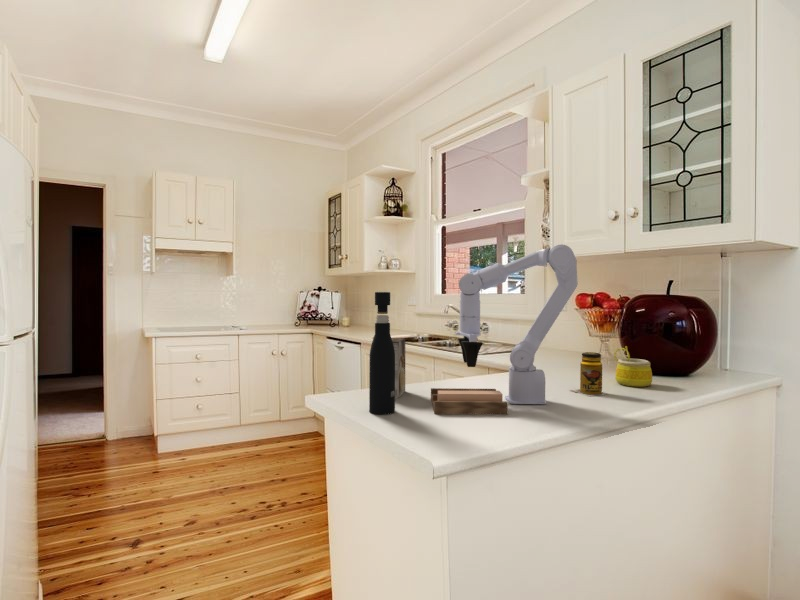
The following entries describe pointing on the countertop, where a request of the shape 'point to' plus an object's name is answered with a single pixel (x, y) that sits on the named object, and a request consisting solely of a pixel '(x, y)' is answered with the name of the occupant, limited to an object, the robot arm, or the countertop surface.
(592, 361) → the condiment
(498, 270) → the robot arm
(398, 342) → the coffee box
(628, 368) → the yellow round container
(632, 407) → the countertop surface
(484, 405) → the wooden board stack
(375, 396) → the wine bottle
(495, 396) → the clay strip
